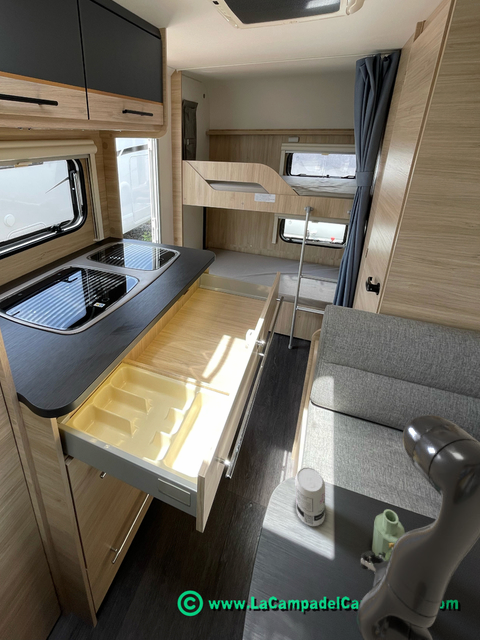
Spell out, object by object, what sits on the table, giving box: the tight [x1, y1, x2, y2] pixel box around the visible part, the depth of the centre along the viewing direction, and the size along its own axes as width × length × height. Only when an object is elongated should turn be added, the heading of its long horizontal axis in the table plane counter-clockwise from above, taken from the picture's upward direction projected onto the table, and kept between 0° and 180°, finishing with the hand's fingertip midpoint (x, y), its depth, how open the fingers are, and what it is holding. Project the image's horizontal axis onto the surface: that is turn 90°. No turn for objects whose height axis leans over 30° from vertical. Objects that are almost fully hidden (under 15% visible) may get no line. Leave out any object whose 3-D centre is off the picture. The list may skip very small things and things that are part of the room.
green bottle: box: [371, 508, 406, 556], centre depth 84 cm, size 7×7×16 cm
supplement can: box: [294, 466, 326, 527], centre depth 96 cm, size 8×8×15 cm
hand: (395, 563), depth 77 cm, fingers closed on vegetable, 4 cm apart
